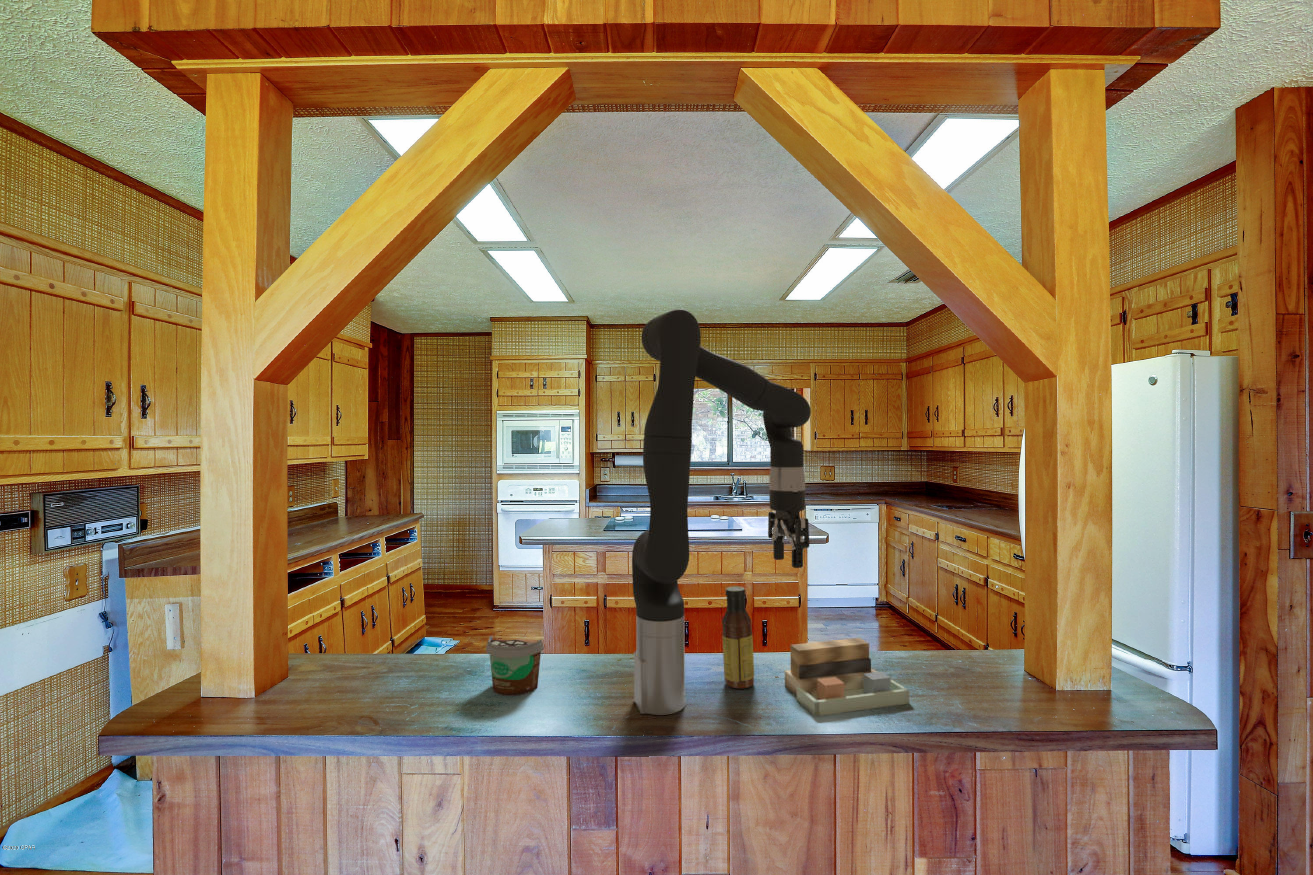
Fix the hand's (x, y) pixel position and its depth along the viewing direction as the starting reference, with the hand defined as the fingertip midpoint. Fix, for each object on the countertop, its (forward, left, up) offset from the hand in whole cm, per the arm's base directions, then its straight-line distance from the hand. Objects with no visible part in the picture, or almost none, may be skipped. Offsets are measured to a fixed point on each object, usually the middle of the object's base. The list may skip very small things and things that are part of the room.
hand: (787, 563), depth 125 cm
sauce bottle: (-12, -1, -24) cm, 27 cm away
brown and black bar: (+6, -7, -21) cm, 23 cm away
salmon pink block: (+1, -13, -22) cm, 25 cm away
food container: (-58, +8, -24) cm, 63 cm away
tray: (+6, -14, -24) cm, 29 cm away
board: (+6, -8, -24) cm, 26 cm away
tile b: (+11, -13, -22) cm, 28 cm away
